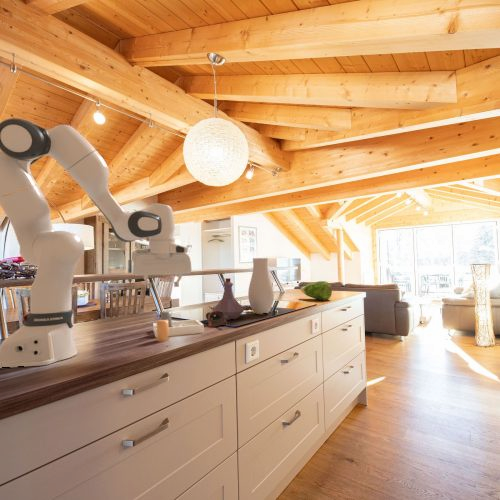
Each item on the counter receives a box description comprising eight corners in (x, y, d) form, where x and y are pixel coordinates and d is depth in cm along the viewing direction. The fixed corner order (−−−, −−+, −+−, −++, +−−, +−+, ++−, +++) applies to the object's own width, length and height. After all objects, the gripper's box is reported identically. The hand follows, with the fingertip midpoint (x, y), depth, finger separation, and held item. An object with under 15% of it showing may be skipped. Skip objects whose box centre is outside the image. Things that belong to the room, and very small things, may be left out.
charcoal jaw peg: (161, 334, 125) (161, 313, 125) (160, 332, 129) (160, 311, 129) (172, 333, 127) (171, 312, 127) (170, 331, 130) (170, 311, 131)
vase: (243, 314, 175) (242, 258, 176) (259, 311, 185) (258, 258, 186) (263, 316, 166) (262, 257, 167) (279, 313, 176) (278, 257, 177)
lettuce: (306, 297, 246) (306, 280, 246) (334, 299, 230) (334, 280, 230) (295, 299, 235) (295, 281, 236) (324, 301, 220) (324, 282, 220)
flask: (227, 322, 152) (226, 279, 153) (205, 318, 164) (204, 278, 164) (251, 317, 164) (250, 278, 165) (229, 314, 176) (229, 277, 176)
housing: (155, 340, 120) (155, 329, 120) (153, 333, 132) (153, 323, 132) (203, 335, 126) (203, 324, 127) (197, 329, 139) (196, 319, 139)
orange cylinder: (157, 345, 113) (157, 322, 113) (156, 342, 117) (156, 320, 117) (169, 344, 114) (169, 321, 115) (168, 341, 118) (167, 319, 118)
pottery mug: (233, 326, 145) (231, 312, 141) (219, 340, 138) (216, 325, 135) (213, 317, 152) (210, 303, 148) (199, 329, 145) (196, 315, 141)
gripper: (131, 249, 111) (132, 289, 110) (191, 248, 118) (192, 286, 117) (131, 249, 117) (132, 288, 116) (188, 248, 124) (189, 285, 123)
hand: (163, 287), depth 117 cm, fingers open, 8 cm apart
